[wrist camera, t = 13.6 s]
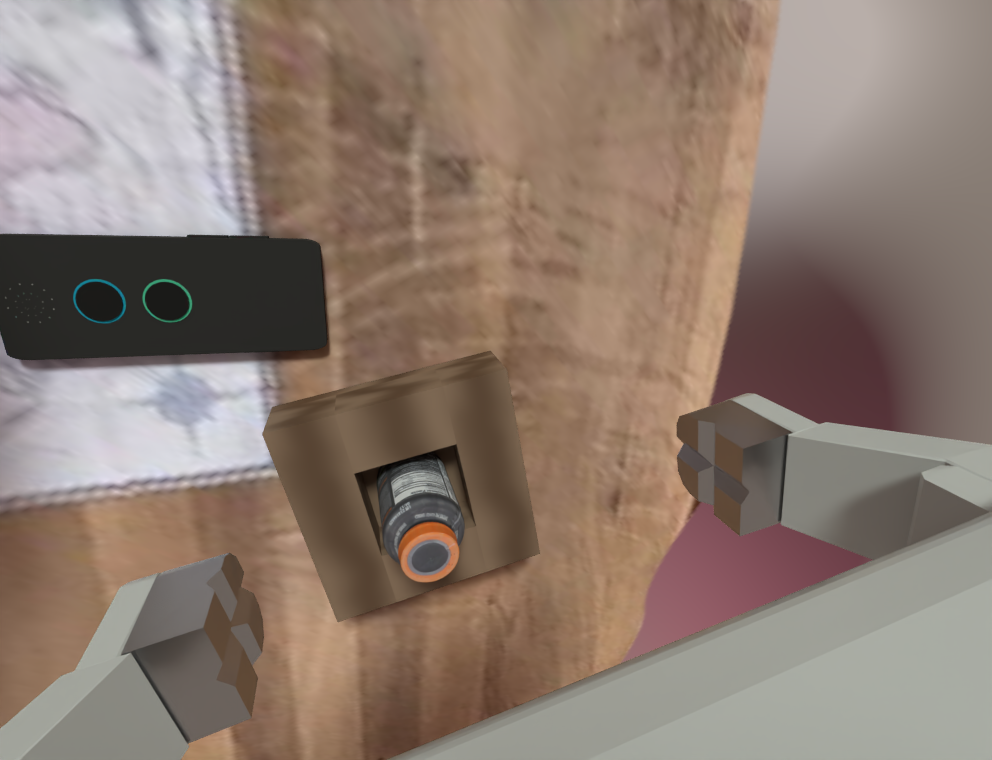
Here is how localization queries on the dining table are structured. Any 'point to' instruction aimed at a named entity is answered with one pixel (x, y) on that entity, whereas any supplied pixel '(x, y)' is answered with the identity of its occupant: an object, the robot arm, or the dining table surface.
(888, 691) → the robot arm
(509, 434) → the walnut holder
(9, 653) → the dining table surface
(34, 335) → the smart home device
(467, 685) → the dining table surface
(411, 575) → the pill bottle
